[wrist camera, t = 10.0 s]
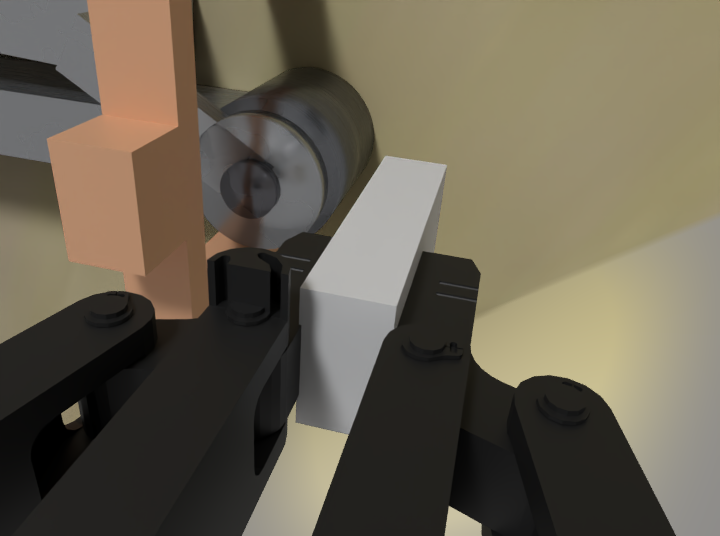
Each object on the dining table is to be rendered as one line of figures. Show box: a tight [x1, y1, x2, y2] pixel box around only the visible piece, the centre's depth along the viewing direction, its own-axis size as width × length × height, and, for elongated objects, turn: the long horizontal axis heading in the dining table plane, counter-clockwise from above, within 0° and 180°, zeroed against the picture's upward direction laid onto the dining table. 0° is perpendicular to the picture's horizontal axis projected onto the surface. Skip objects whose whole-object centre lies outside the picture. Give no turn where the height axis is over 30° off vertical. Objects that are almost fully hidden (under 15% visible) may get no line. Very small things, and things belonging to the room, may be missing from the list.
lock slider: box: [47, 0, 279, 319], centre depth 19 cm, size 2×10×12 cm, turn 176°
